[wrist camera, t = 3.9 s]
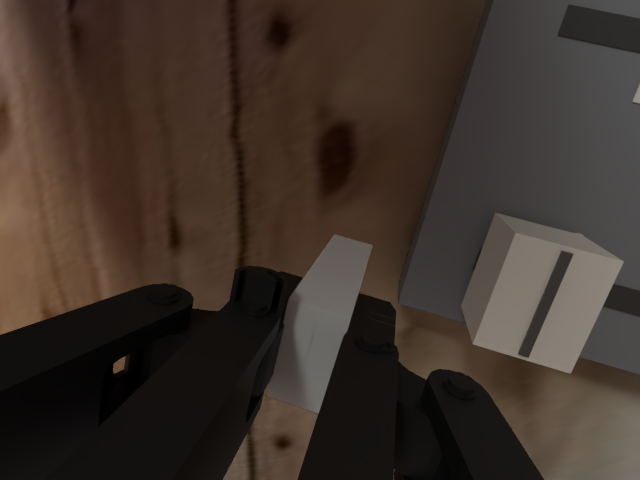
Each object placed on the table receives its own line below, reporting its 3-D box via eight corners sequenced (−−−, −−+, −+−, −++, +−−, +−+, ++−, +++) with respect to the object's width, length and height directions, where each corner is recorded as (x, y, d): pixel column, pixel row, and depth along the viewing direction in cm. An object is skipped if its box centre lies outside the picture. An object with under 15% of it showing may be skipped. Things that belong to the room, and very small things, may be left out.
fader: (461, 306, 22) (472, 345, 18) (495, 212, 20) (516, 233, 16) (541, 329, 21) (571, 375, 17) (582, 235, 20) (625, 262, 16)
